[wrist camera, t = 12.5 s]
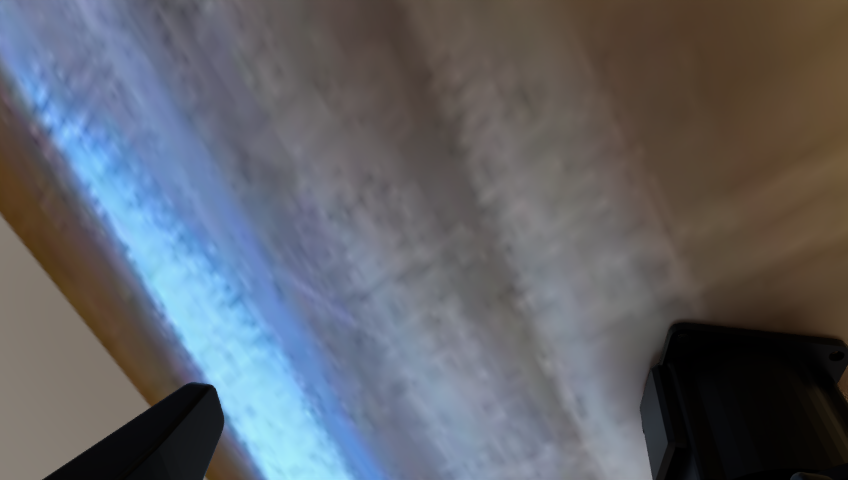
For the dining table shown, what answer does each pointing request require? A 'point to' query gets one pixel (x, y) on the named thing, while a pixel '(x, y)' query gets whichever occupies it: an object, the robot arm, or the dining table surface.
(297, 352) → the dining table surface
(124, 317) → the dining table surface
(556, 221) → the dining table surface
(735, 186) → the dining table surface
